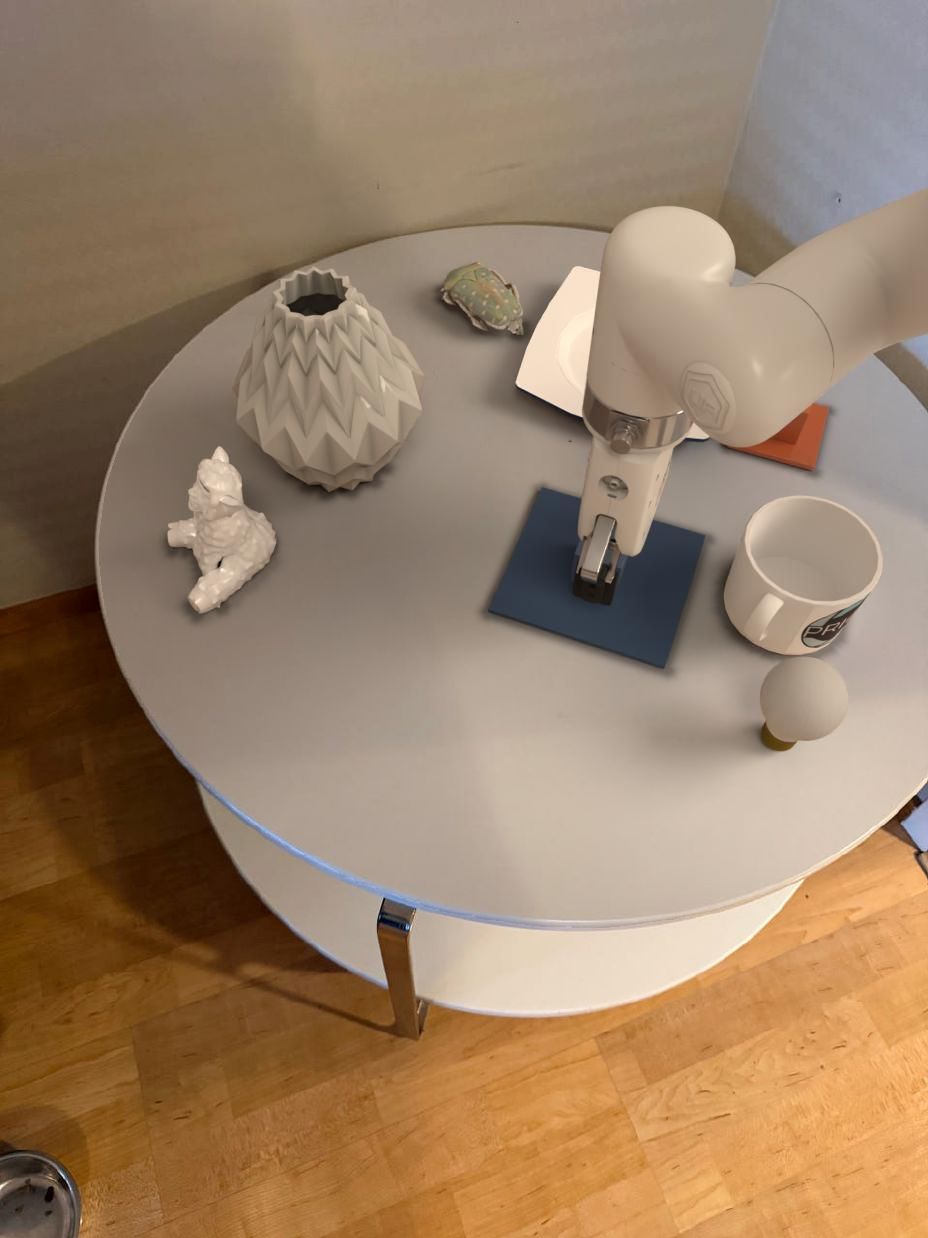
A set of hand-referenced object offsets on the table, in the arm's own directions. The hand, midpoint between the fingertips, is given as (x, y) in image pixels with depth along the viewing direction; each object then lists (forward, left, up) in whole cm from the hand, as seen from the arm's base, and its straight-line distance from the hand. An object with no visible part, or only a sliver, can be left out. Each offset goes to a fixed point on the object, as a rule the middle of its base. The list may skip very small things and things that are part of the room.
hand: (609, 551), depth 77 cm
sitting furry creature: (+30, +10, -4) cm, 32 cm away
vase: (+26, -4, -4) cm, 27 cm away
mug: (-14, -1, -4) cm, 15 cm away
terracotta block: (-10, -22, -3) cm, 25 cm away
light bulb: (-17, +10, -4) cm, 20 cm away
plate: (+4, -25, -4) cm, 26 cm away
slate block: (+1, 0, -3) cm, 3 cm away
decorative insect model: (+21, -28, -4) cm, 36 cm away
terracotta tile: (-11, -22, -4) cm, 25 cm away
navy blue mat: (0, 0, -4) cm, 4 cm away
